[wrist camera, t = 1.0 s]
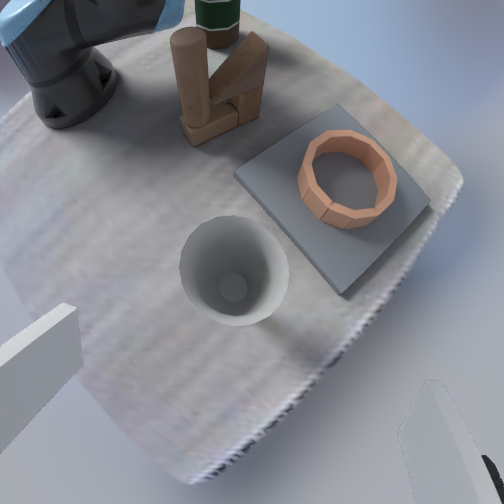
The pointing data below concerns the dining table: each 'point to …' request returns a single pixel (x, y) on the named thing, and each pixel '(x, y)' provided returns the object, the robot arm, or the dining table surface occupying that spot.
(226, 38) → the beer bottle
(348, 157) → the slate board
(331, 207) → the ceramic collar
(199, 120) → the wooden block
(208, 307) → the chalice
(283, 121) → the dining table surface
